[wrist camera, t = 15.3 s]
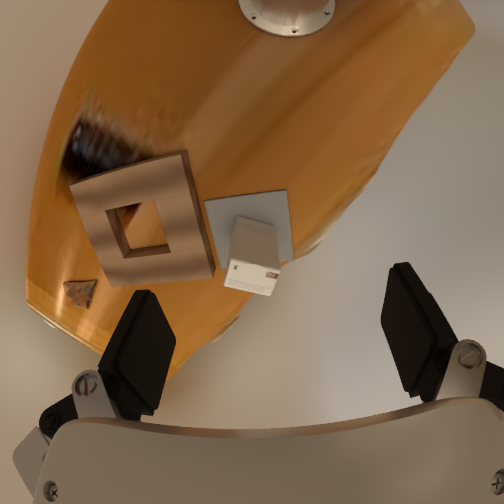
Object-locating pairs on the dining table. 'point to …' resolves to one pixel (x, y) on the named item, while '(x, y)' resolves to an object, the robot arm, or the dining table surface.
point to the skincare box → (252, 257)
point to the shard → (80, 292)
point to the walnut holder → (170, 212)
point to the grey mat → (255, 208)
